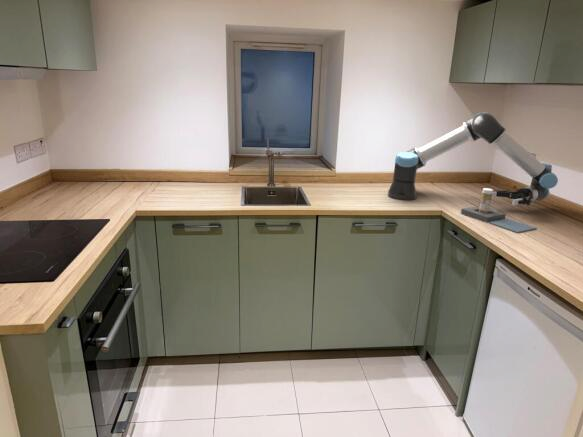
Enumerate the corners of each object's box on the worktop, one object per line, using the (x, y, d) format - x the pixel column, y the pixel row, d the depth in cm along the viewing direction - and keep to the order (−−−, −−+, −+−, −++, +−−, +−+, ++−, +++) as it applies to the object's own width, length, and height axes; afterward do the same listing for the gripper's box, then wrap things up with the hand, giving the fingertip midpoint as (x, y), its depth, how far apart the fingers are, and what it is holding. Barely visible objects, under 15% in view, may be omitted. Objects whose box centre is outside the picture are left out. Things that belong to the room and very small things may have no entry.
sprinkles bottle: (475, 214, 198) (481, 187, 194) (484, 214, 198) (490, 187, 194) (480, 217, 193) (486, 190, 189) (489, 217, 194) (495, 190, 190)
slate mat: (488, 223, 186) (488, 221, 186) (507, 219, 193) (507, 218, 193) (517, 233, 175) (517, 231, 174) (536, 229, 181) (536, 227, 181)
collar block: (460, 213, 198) (461, 208, 197) (479, 210, 205) (480, 205, 204) (486, 222, 187) (487, 217, 186) (505, 218, 194) (506, 213, 193)
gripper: (548, 208, 200) (522, 213, 190) (502, 196, 220) (476, 199, 210) (552, 193, 197) (526, 198, 187) (505, 182, 218) (479, 185, 208)
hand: (499, 198), depth 199 cm, fingers open, 13 cm apart
